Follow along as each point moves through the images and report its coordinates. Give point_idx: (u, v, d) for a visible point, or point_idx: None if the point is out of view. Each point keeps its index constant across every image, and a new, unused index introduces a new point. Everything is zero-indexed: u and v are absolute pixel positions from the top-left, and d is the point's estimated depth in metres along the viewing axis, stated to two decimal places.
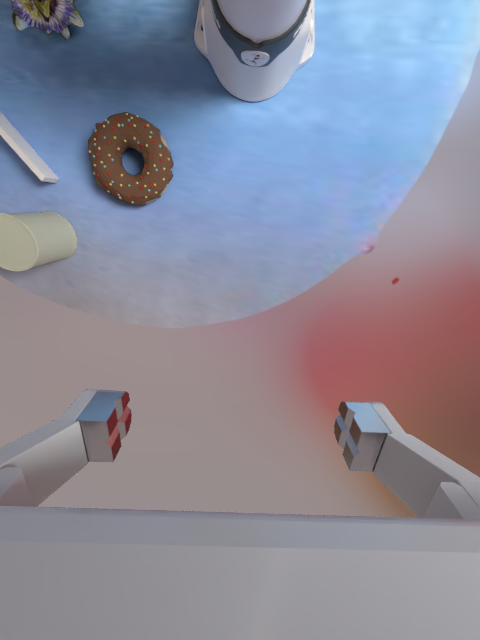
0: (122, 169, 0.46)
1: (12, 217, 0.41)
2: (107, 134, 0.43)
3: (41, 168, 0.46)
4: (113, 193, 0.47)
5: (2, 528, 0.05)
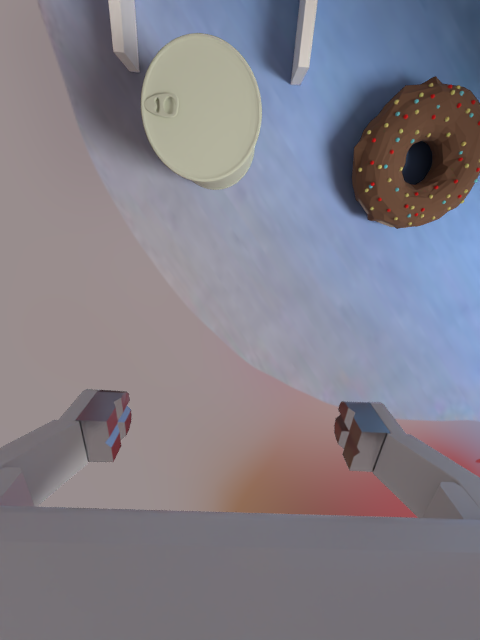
0: (404, 162, 0.28)
1: (254, 83, 0.19)
2: (443, 106, 0.26)
3: None
4: (364, 178, 0.29)
5: (2, 528, 0.05)
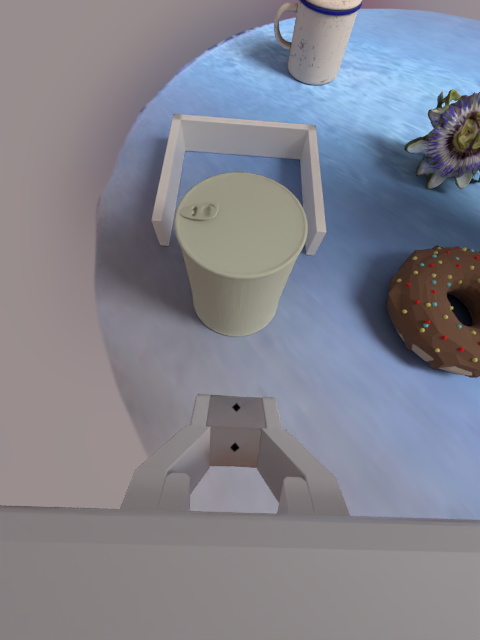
0: None
1: (296, 201, 0.19)
2: (462, 259, 0.27)
3: None
4: (413, 318, 0.25)
5: (2, 528, 0.05)
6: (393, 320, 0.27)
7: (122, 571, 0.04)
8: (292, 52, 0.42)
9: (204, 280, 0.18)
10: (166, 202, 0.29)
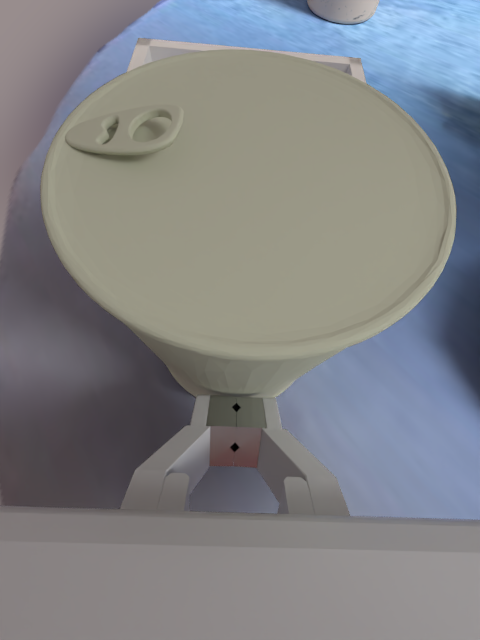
0: None
1: (405, 118, 0.07)
2: None
3: None
4: None
5: (2, 528, 0.05)
6: None
7: (122, 571, 0.04)
8: None
9: (143, 339, 0.06)
10: None
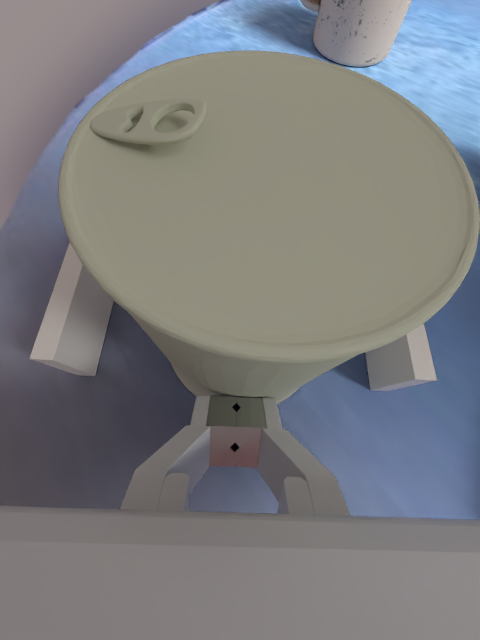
0: None
1: (434, 129, 0.07)
2: None
3: None
4: None
5: (2, 528, 0.05)
6: None
7: (122, 571, 0.04)
8: (323, 14, 0.27)
9: (144, 329, 0.06)
10: (78, 302, 0.13)
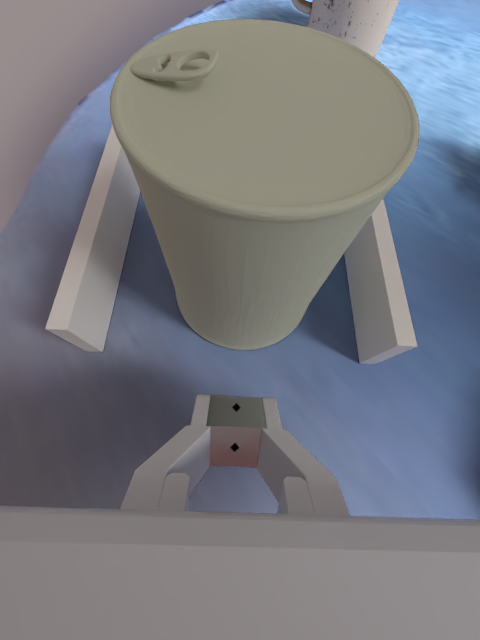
0: None
1: (393, 79, 0.09)
2: None
3: None
4: None
5: (2, 528, 0.05)
6: None
7: (122, 571, 0.04)
8: (314, 16, 0.28)
9: (168, 226, 0.08)
10: (87, 279, 0.14)
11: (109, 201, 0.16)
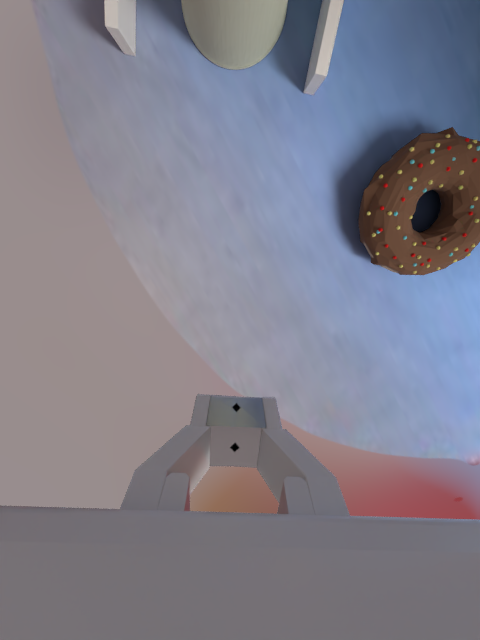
0: (414, 210, 0.27)
1: None
2: (459, 159, 0.24)
3: None
4: (372, 222, 0.27)
5: (2, 528, 0.05)
6: (359, 215, 0.29)
7: (122, 571, 0.04)
8: None
9: None
10: None
11: None
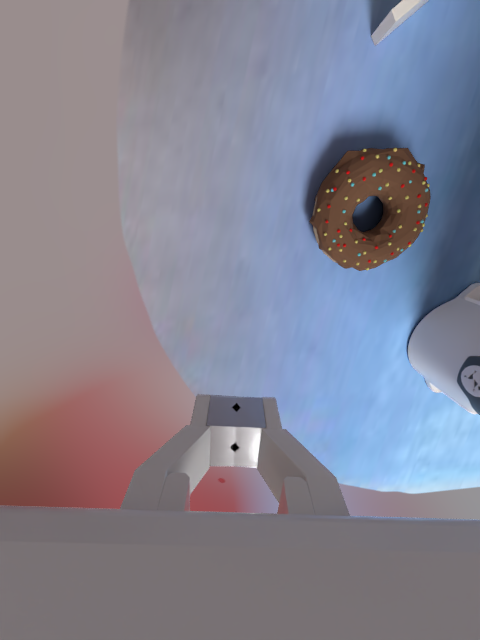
0: (363, 200, 0.31)
1: None
2: (412, 186, 0.30)
3: (406, 15, 0.25)
4: (333, 180, 0.30)
5: (2, 528, 0.05)
6: None
7: (122, 571, 0.04)
8: None
9: None
10: None
11: None
